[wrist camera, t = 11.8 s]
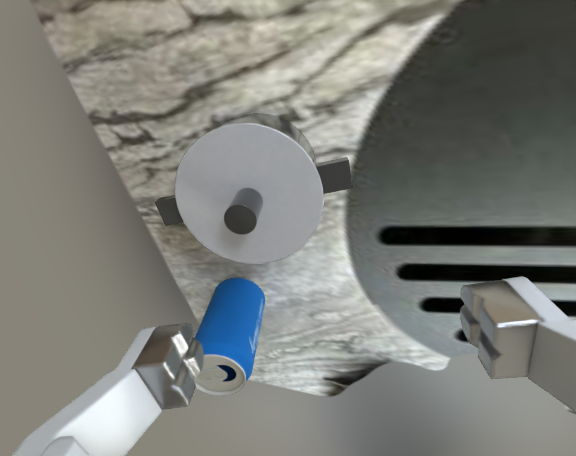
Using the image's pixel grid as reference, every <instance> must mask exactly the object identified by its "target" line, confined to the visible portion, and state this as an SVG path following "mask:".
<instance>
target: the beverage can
mask: <svg viewBox="0 0 576 456" xmlns="http://www.w3.org/2000/svg"><path fill="white" fill-rule="evenodd" d="M264 305H265V296H264V293H263V291H262V290H261V288H260V287H259V286H258V285H257V284H255V283H254V282H252V281H250V280H247V279H244V278H230V279H226V280H224V281H223V282H221V283H220V284H219V285H218V286H217V288H216V290H215V292H214V294H213V297H212V299H211V301H210V304H209V306H208V308H207V311H206V313H205V315H204V318H203V320H202V322H201V325H200V327H199V330H198V332H197V334H196V337H195V339H196V340H198V341H199V342H200V343H201V345H202V347H203V352H204V362H203V367H202V370H201V373H200V374H199V375H198V376H197V377H196V378H195V379H194V382H195V384H196V388H197V389H199V390H200V391H202V392H204V393H207V394H210V395H216V396H227V395H231V394H234V393H237V392H238V391H239V390H241V389H242V388H243V386H244V385H245V382H246V381H247V380H248V378H249V377H250V375H251V373H252V369H253V364H254V358H255V353H256V348H257V342H258V337H259V332H260V326H261V321H262V316H263V310H264Z"/></svg>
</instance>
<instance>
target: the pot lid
mask: <svg viewBox="0 0 576 456" xmlns="http://www.w3.org/2000/svg"><path fill="white" fill-rule="evenodd" d="M175 197H176V202H177V207H178V210H179V213H180V215H181V217H182V219H183V221H184V223H185V225H186V227H187V228H188V230H189V231H190V232H191V233H192V235H193V236H194V237H195V238H196V239H197V240H198V241H199V242H200V243H201V244H202V245H204V246H205V247H206V248H208V249H209V250H210V251H212V252H214V253H215V254H217V255H219V256H221V257H224V258H226V259H229V260H232V261H236V262H240V263H247V264H263V263H270V262H274V261H278V260H281V259H283V258H286V257H288V256H290V255H292V254H293V253H295V252H296V251H298V250H299V249H300V248H301V247H303V246H304V245H305V244H306V243H307V242H308V241H309V239H310V238H311V237H312V235H313V234H314V232H315V231H316V229H317V227H318V225H319V222H320V219H321V216H322V212H323V205H324V194H323V186H322V182H321V178H320V175H319V172H318V170H317V168H316V166H315V164H314V162H313V161H312V159H311V157H310V156H309V155H308V154H307V152H306V151H305V150H304V149H303V148H302V147H301V146H300V145H299V144H298V143H297V142H296V141H294V140H293V139H292V138H290V137H289V136H288V135H286V134H284V133H282V132H280V131H278V130H276V129H273V128H271V127H268V126H264V125H260V124H254V123H234V124H229V125H224V126H221V127H218V128H216V129H214V130H212V131H210V132H208V133H206V134H205V135H203V136H202V137H200V138H199V139H198V140H196V141H195V142H194V143H193V144H192V145H191V146H190V148H189V149H188V150H187V152H186V153H185V154H184V156H183V158H182V160H181V162H180V164H179V167H178V170H177V174H176V179H175Z"/></svg>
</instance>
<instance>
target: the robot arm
mask: <svg viewBox="0 0 576 456" xmlns="http://www.w3.org/2000/svg"><path fill="white" fill-rule="evenodd" d="M461 299H462V300H463V302H464V303H465V304H464V305H463V307H462V308H461V309H460V319H461V324H462V328H463V331H464V333H465V335H466V337H467V339H468V341H469V343H470V344H472V345H474V346H475V347H477V348H478V358H479V360H480V361H481V363H482V365H483V366H484V368H485V370H486V371H487V373H488V375H489V376H490V378H491V379H500V378H515V377H528V379H530V380H531V381H533V382H534V383H535V384H537V385H538V386H539V387H541V388H542V389H544V390H545V391H547V392H548V393H550V394H551V395H552V396H553V397H555V398H556V399H558V400H559V401H561V402H562V403H563V404H565V405H566V406H568V407H569V408H570V409H572V410H573V411H575V412H576V319H569V318H568V317H567V316H566V315H565V314H564V313H563V312H562V311H561V310H560V309H559V308H558V307H557V306H556V305H555V304H554V303H552V302H551V301H550V300H549V299H548V298H547V297H546V296H545V295H544V294H543V293H542V292H541V291H540V290H539V289H538V288H537V287H536V286H535V285H534V284H532V283H531V282H530V281H529V280H528V279H527V278H525V277H516V278H510V279H503V280H498V281H491V282H484V283H477V284H470V285H463V286H462V288H461ZM194 333H195V331H194V329H193V327H192V326H191V324H188V323H183V324H174V325H165V326H158V327H150V328H144V329H142V330H141V331H140V332H139V334H138V335H137V337H136V338H135V340H134V341H133V343H132V344H131V346H130V348H129V349H128V350H127V352H126V354H125V355H124V357H123V358H122V360H121V361H120V363H119V364H118V366H117V368H116V369H115V371H113V372H109V373H107V374H106V375H105V376H104V377H102V378H101V379H100V380H99V381H97V382H96V383H95V384H93V385H92V386H91V387H90V388H88V389H87V390H86V391H84V392H83V393H82V394H81V395H79V396H78V397H77V398H76V399H74V400H73V401H72V402H70V403H69V404H68V405H67V406H65V407H64V408H63V409H61V410H60V411H59V412H57V413H56V414H55V415H54V416H52V417H51V418H50V419H49V420H47V421H46V422H45V423H44V424H42V425H41V426H40V427H38V428H37V429H36V430H34V431H33V432H32V433H31V434H30V435H28V436H27V437H25V438H24V440H23V441H22V442H21V444H20V445H19V446H18V448H17V449H16V450H15V451H14V453H13V454H12V455H11V456H125V455H126V454H127V453H128V452H129V450H130V449H131V448H132V447H133V446H134V444H135V443H136V442H137V441H138V440H139V439H140V437H141V436H142V435H143V434H144V433H145V431H146V430H147V429H148V428H149V427H150V425H151V424H152V423H153V422H154V421H155V420H156V418H157V417H158V416H159V415H160V414H161V412H162V410H164V409H171V408H180V407H187V406H189V404H190V401H191V398H192V396H193V393H194V390H195V387H196V384H195V382H194V379H195V378H196V377H197V376H198V375H199V374H200V373H201V370H202V367H203V362H204V352H203V347H202V345H201V343H200V342H199V341H198V340H196V339H195V338H193V335H194Z"/></svg>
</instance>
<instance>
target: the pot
mask: <svg viewBox="0 0 576 456" xmlns="http://www.w3.org/2000/svg"><path fill="white" fill-rule="evenodd" d="M234 123H254V124H260V125H264V126H268V127H271V128H273V129H276V130H278V131H280V132H282V133H284V134H286V135H288V136H289V137H290V138H292V139H293V140H294V141H296V142H297V143H298V144H299V145H300V146H301V147H302V148H303V149H304V150H305V151H306V152H307V154H308V155H309V156H310V157H311V159H312V161H313V162H314V164H315V166H316V168H317V170H318V172H319V175H320V178H321V182H322V186H323V194H325V193H330V192H335V191H340V190H345V189H350V188H353V186H352V179H351V173H350V167H349V160H348V158H347V157H345V158H341V159H336V160H331V161H327V162H322V163H318V164H317V163H316V158H315V154H314V150H313V148H312V147H311V145H310V143H309V142H308V140H307V139H306V137H305V136H304V135H303V134H302V132H301V131H300V130H299V129H297V128H296V127H295V126H294V125H292V124H291V123H289V122H287V121H286V120H284V119H282V118H280V117H277V116H273V115H269V114H259V113H253V114H249V115H244V116H241V117H237V118H233V119H231V120H230V121H228V122H227V123H225V124H223V125H222V126H224V125H229V124H234ZM220 127H221V126H220ZM155 204H156V206H157V208H158V210H159V213H160V215H161V217H162V219H163V221H164V223H165V225H166V226H168V225H173V224H178V223H183V222H184V221H183V219H182V217H181V215H180V213H179V210H178V207H177V202H176V197H175V195H172V196H168V197H163V198H159V199H158V200H157V201H156V202H155Z"/></svg>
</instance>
